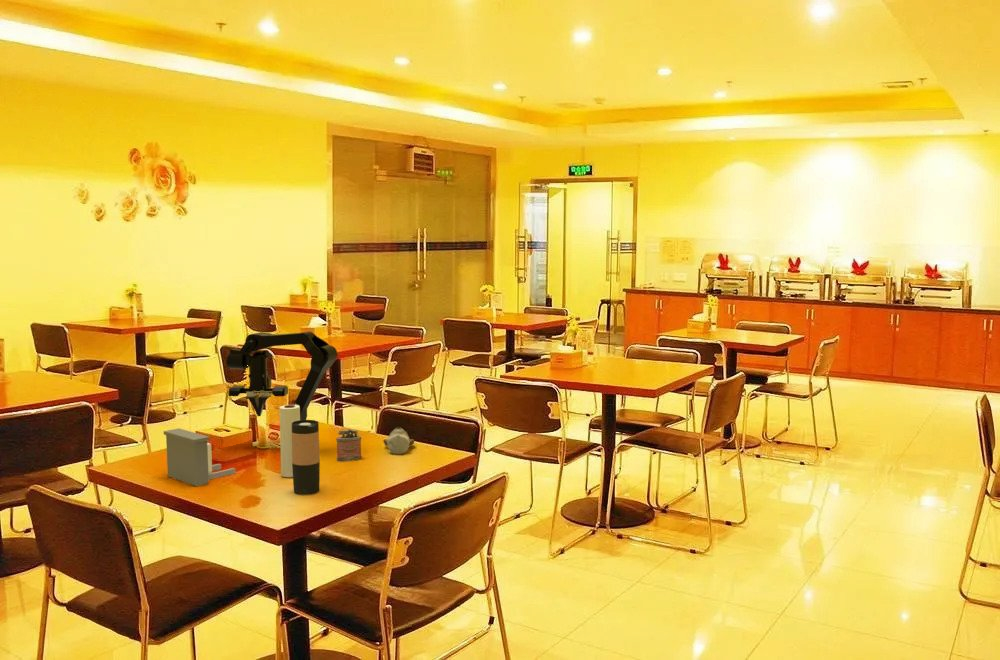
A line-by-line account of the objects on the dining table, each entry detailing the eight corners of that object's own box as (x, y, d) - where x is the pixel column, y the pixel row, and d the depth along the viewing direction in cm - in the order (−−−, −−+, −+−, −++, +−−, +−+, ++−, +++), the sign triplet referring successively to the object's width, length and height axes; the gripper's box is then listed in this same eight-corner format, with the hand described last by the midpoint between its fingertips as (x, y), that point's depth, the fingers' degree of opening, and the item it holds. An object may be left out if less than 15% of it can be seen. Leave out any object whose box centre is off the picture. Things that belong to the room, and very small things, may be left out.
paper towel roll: (288, 479, 259) (286, 409, 257) (277, 475, 263) (275, 406, 261) (308, 474, 264) (307, 405, 262) (297, 470, 268) (295, 402, 266)
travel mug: (296, 487, 251) (295, 419, 248) (323, 487, 250) (321, 419, 248) (289, 495, 243) (287, 425, 241) (316, 495, 243) (315, 425, 241)
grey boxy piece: (212, 466, 273) (210, 422, 272) (243, 475, 262) (241, 430, 261) (165, 476, 261) (163, 431, 260) (195, 487, 250) (193, 439, 249)
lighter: (360, 457, 284) (360, 427, 283) (362, 460, 281) (361, 429, 280) (336, 459, 282) (335, 429, 281) (337, 462, 279) (336, 431, 277)
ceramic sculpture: (381, 430, 285) (383, 423, 300) (381, 456, 285) (383, 447, 300) (414, 429, 286) (414, 422, 301) (414, 455, 286) (414, 447, 301)
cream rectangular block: (201, 472, 265) (200, 440, 263) (212, 476, 261) (211, 443, 260) (189, 475, 261) (188, 443, 260) (200, 479, 258) (199, 446, 256)
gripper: (291, 366, 297) (292, 411, 299) (237, 366, 297) (238, 411, 299) (283, 371, 286) (284, 418, 288) (227, 371, 286) (228, 417, 288)
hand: (259, 416), depth 291 cm, fingers closed
